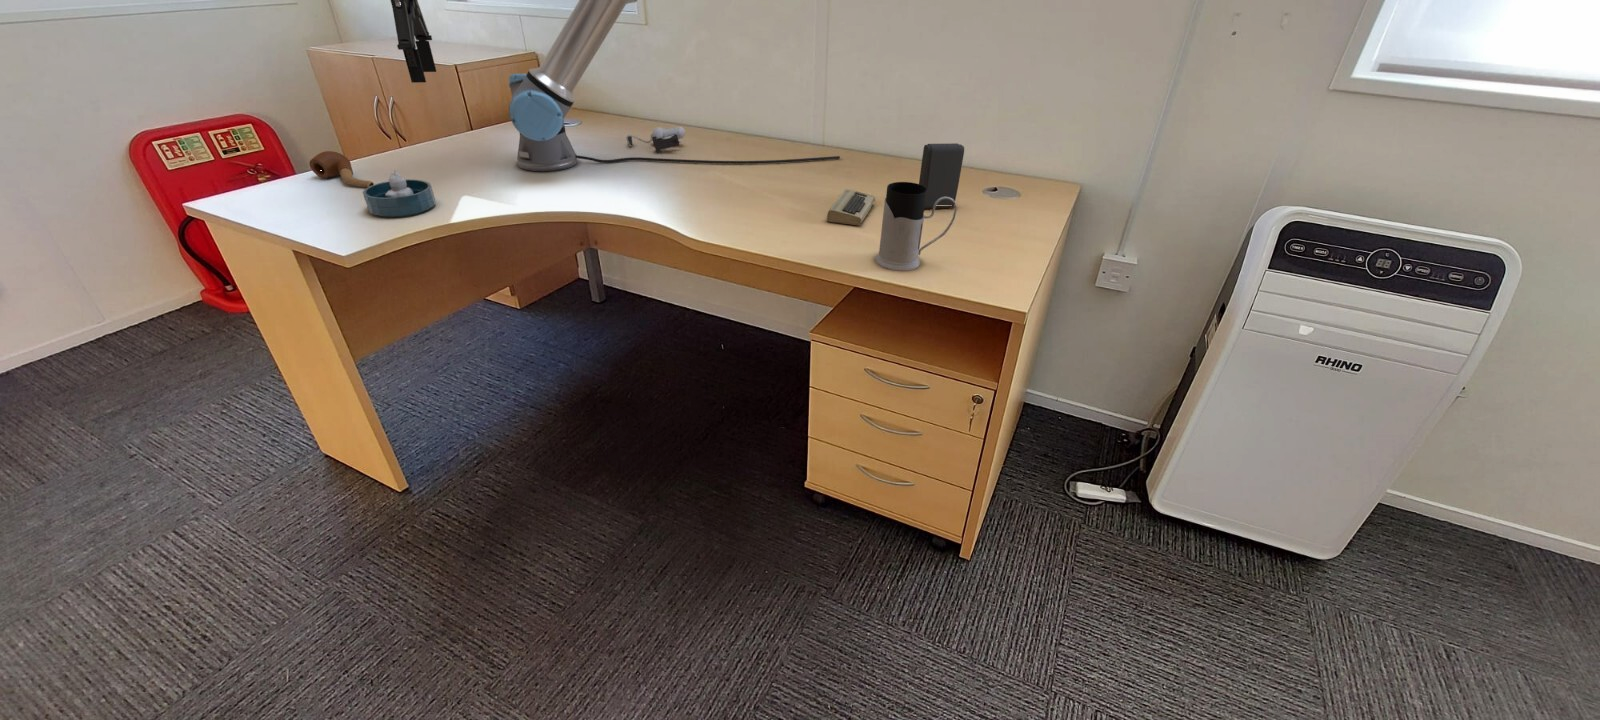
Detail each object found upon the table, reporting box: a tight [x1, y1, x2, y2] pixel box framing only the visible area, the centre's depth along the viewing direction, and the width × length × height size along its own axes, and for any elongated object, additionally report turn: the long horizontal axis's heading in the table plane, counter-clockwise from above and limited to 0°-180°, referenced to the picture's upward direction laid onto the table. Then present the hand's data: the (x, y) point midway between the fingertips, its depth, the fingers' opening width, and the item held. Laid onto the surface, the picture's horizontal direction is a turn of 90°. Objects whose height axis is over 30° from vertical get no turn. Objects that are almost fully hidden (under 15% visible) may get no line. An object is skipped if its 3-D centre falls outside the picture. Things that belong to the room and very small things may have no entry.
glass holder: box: [875, 181, 958, 272], centre depth 125 cm, size 9×14×15 cm, turn 85°
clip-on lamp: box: [626, 126, 686, 154], centre depth 192 cm, size 12×6×18 cm
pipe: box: [309, 150, 375, 188], centre depth 157 cm, size 7×19×6 cm, turn 65°
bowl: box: [362, 178, 437, 218], centre depth 143 cm, size 13×13×4 cm
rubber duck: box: [385, 169, 413, 198], centre depth 141 cm, size 5×7×8 cm
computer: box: [826, 189, 876, 227], centre depth 150 cm, size 16×8×3 cm, turn 163°
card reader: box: [918, 142, 965, 210], centre depth 153 cm, size 9×4×15 cm, turn 100°
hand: (424, 76), depth 145 cm, fingers open, 13 cm apart
